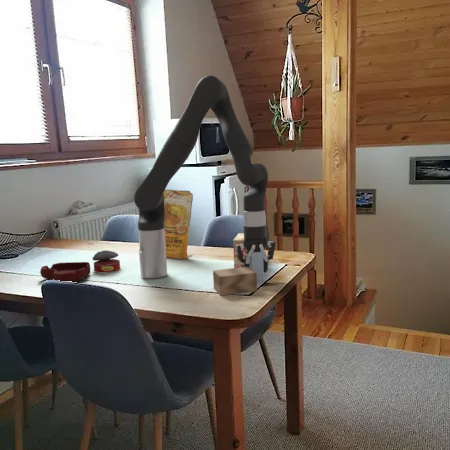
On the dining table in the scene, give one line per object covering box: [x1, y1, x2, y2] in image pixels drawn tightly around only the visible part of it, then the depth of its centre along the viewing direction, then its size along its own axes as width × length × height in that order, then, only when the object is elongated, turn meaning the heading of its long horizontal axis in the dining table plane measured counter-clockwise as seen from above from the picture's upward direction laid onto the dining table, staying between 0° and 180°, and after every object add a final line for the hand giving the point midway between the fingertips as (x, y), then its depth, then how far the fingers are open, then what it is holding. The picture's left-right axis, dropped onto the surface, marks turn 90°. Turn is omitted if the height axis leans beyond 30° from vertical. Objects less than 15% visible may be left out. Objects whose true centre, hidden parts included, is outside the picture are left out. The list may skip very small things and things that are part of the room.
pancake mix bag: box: [163, 189, 194, 260], centre depth 204 cm, size 7×19×28 cm, turn 56°
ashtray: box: [39, 261, 91, 283], centre depth 178 cm, size 18×16×5 cm
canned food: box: [92, 250, 121, 273], centre depth 189 cm, size 11×10×10 cm
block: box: [249, 251, 265, 282], centre depth 166 cm, size 4×4×10 cm
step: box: [212, 267, 258, 296], centre depth 157 cm, size 12×8×6 cm, turn 106°
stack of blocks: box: [232, 232, 246, 268], centre depth 187 cm, size 21×6×12 cm, turn 170°
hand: (256, 272), depth 167 cm, fingers open, 5 cm apart
